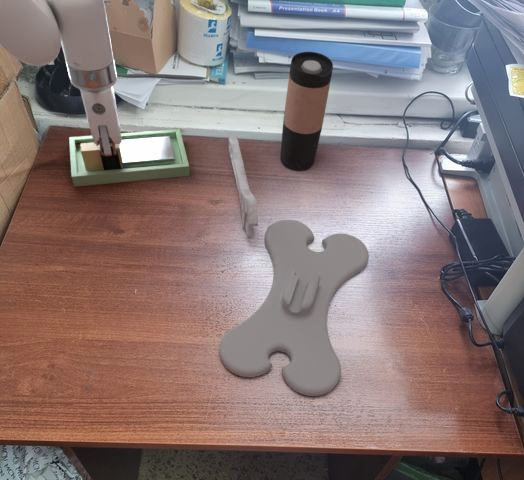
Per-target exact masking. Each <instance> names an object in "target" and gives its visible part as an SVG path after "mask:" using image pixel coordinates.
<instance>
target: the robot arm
mask: <svg viewBox="0 0 524 480" xmlns="http://www.w3.org/2000/svg"><path fill="white" fill-rule="evenodd" d="M106 11H107V10H106V4H105V0H0V46H1V47H2V48H3V50H5V51H6V52H7V53H8V54H10V55H11V56H12V57H14V58H15V59H16V60H18V61H20V62H21V63H24V64H26V65H29V66H33V67H43V66H47V65H50V64H51V63H53V62H54V61H55V60H56V59H57V58H58V55H59V54H60V51H61V48H62V52H63V56H64V60H65V64H66V68H67V72H68V77H69V80H70V83H71V85H72V86H73V87H75V88H76V89H78V90H79V91H80V96H81V100H82V102H83V103H82V104H83V107H84V111H85V115H86V120H87V123H88V127H89V130H90V134H91V136H92V137H93V141H94V144H96V145H97V146H98V144H99V146H100V150H101V152H100V155H101V159H102V164H103V168H104V171H105V170H116V169H121V165H120V160H119V155H118V151H116V147H115V144H121V142H122V136H121V133H122V130H121V122H120V118H119V111H118V105H117V101H116V94H115V90H114V85H115V84H116V83H117V81H118V74H117V69H116V63H115V58H114V52H113V46H112V41H111V40H112V39H111V35H110V28H109V23H108V16H107V12H106ZM110 143H112V146H110ZM102 144H103V145H102Z"/></svg>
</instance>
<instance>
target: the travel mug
mask: <svg viewBox="0 0 524 480" xmlns="http://www.w3.org/2000/svg"><path fill="white" fill-rule="evenodd" d="M333 69H334V64H333V61H332V60H331V59H330V58H329V57H328V56H327V55H325V54H322V53H319V52H315V51H301V52H298V53H296V54H295V55H293V56H292V58H291V60H290V66H289V75H288V83H287V88H286V89H287V90H286V97H285V105H284V111H283V112H284V113H283V119H282V120H283V121H282V133H281V144H280V157H279V159H280V162H281V163H282V165H283V166H284V167H285V168H287V169H289V170H290V171H296V172H302V171H303V172H304V171H307V170H309V169H311V168H312V167H313V166H314V163H315V159H316V156H317V151H318V147H319V142H320V138H321V133H322V129H323V125H324V121H325V120H324V118H325V115H326V110H327V109H326V108H327V103H328V97H329V91H330V88H331V82H332V81H331V80H332V75H333Z"/></svg>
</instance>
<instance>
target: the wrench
mask: <svg viewBox="0 0 524 480" xmlns="http://www.w3.org/2000/svg"><path fill="white" fill-rule="evenodd" d="M228 152H229V157H230V161H231V165H232V169H233V175H234V179H235V182H236V183H235V185H236V189H237V192H238V198H239V202H240V210H241V218H242V219H241V220H242V230H245V234H246V236H247V237H248V238H249V239H252V238H254V237H255V227H258V225H259V216H258V215H259V213H258V203H257V199H256V197H255V196H254V195H253V193H252V191H251V190H250V186H249V182H248V177H247V173H246V169H245V164H244V159H243V155H242V152H241V147H240V143H239V139H238V136H229V137H228Z"/></svg>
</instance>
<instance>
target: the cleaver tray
mask: <svg viewBox="0 0 524 480" xmlns="http://www.w3.org/2000/svg"><path fill="white" fill-rule="evenodd" d="M121 136H122V140H130V139H142V138H155V137H167V136H170V140H171V144H172V149H173V153H174V158H175V163H171V164H160V165H149V166H138V167H127V168H121V169H116V170H105V171H104V170H93V171H86V169H85V165H84V161H83V157H82V154H81V146H80V144H81V143H93V142H94V141H93V137H92V135H80V136H70V137H68V142H69V159H70V175H71V176H70V177H71V180H72V184H73V187H86V186H95V185H107V184H119V183H127V182H138V181H149V180H161V179H170V178H183V177H190V176H191V175H190V164H189V160H188V157H187V156H188V155H187V152H186V148H185V147H186V146H185V145H184V140H183V136H182V132H181V129H180V128H173V129H158V130H148V131H134V132H121ZM76 144H79V145H76ZM119 145H120V144H119ZM120 150H121V149H120Z"/></svg>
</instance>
